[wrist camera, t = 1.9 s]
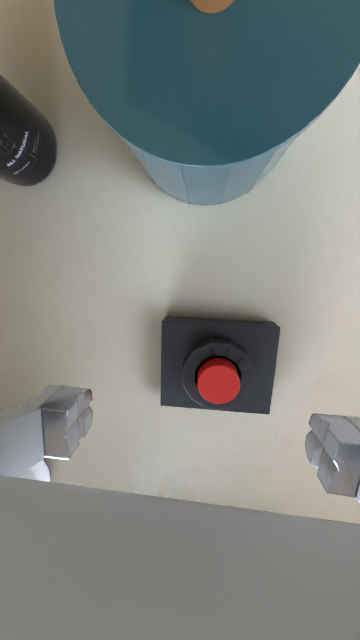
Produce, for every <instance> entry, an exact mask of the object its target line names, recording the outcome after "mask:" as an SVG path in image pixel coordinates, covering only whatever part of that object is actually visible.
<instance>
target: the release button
mask: <svg viewBox="0 0 360 640" xmlns="http://www.w3.org/2000/svg"><path fill="white" fill-rule="evenodd" d="M198 389H199V392H200V394H201V395H202V396H203V397H204V398H205V399H206V400H207V401H209V402H212V403H216V404H223V403H227V402H229V401H231V400H233V399H234V398H235V397H236V396H237V394H238V392H239V390H240V379H239V376H238V373H237V370H236V368H235V366H234V365H233V364H232V363H231V362H230V361H228V360H227V359H224V358H212V359H209V360H207V361H205V362H204V363H203V364H202V365H201V367H200V369H199V372H198Z"/></svg>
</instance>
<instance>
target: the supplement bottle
mask: <svg viewBox="0 0 360 640" xmlns="http://www.w3.org/2000/svg"><path fill="white" fill-rule="evenodd" d="M56 155H57V146H56V139H55V136H54V133H53V130H52V128H51V126H50V124H49V123H48V121H47V120H46V118H45V117H44V116H43V115H42V114H41V113H40V112H39V111H38V110H37V109H36V108H35V107H34V106H33V105H32V104H31V103H30V102H29V101H28V100H27V99H26V98H25V97H24V96H23V95H22V94H21V93H20V92H19V91H18V90H17V89H16V88H15V87H14V86H13V85H11V84H10V83H9V82H8V81H7V80H6V79H5V78H4V77H3V76H2V75H1V74H0V179H3V180H5V181H7V182H10V183H12V184H15V185H19V186H32V185H35V184H38V183H40V182H42V181H43V180H44V179H45V178H46V177H47V176H48V175H49V174H50V173H51V171H52V169H53V167H54V164H55V161H56Z"/></svg>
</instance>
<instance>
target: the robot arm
mask: <svg viewBox="0 0 360 640" xmlns="http://www.w3.org/2000/svg"><path fill="white" fill-rule="evenodd" d="M91 401H92V391H91V390H90V389H87V388H79V387H71V386H64V385H49V386H48V387H46V388H45V389H44V390H43V391H41V392H40V393H39V394H37V395H36V396H35V397H34V398H32V399H31V400H30V401H29V402H27V403H26V404H25V405H24V406H22V407H21V406H17V407H14V408H11V409H8V410H5V411H2V412H0V640H360V524H355V523H348V522H340V521H333V520H326V519H318V518H311V517H303V516H296V515H289V514H281V513H274V512H267V511H259V510H252V509H245V508H237V507H230V506H223V505H215V504H208V503H201V502H193V501H186V500H179V499H171V498H164V497H157V496H149V495H142V494H135V493H127V492H120V491H113V490H106V489H98V488H91V487H84V486H76V485H69V484H62V483H54V482H47V481H40V480H32V479H25V478H18V477H17V476H19V475H20V474H22V473H23V472H25V471H26V470H28V469H29V468H31V467H33V466H34V465H36V464H37V463H39V462H40V461H42V460H43V459H44V457H47V458H57V459H67V460H69V459H70V458H71V457H72V455H73V454H74V452H75V451H76V449H77V448H78V446H79V439H81V438H83V437H85V436H86V434H87V433H88V431H89V429H90V426H91V423H92V417H93V410H92V409H91V407H90V406H89V403H90V402H91ZM309 425H310V427H311V428H312V430H311V431H310V432H309V433H308V434H307V435H306V441H305V448H306V454H307V457H308V459H309V461H310V463H311V464H312V465H313V466H314V467H315V468H317V469H318V472H317V476H318V478H319V480H320V482H321V484H322V485H323V487H324V489H325V491H326V493H330V494H336V495H343V496H349V497H355V498H356V500H357V501H358V502H360V418H359V417H352V416H339V415H327V414H312V416H311V417H310V421H309Z"/></svg>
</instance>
